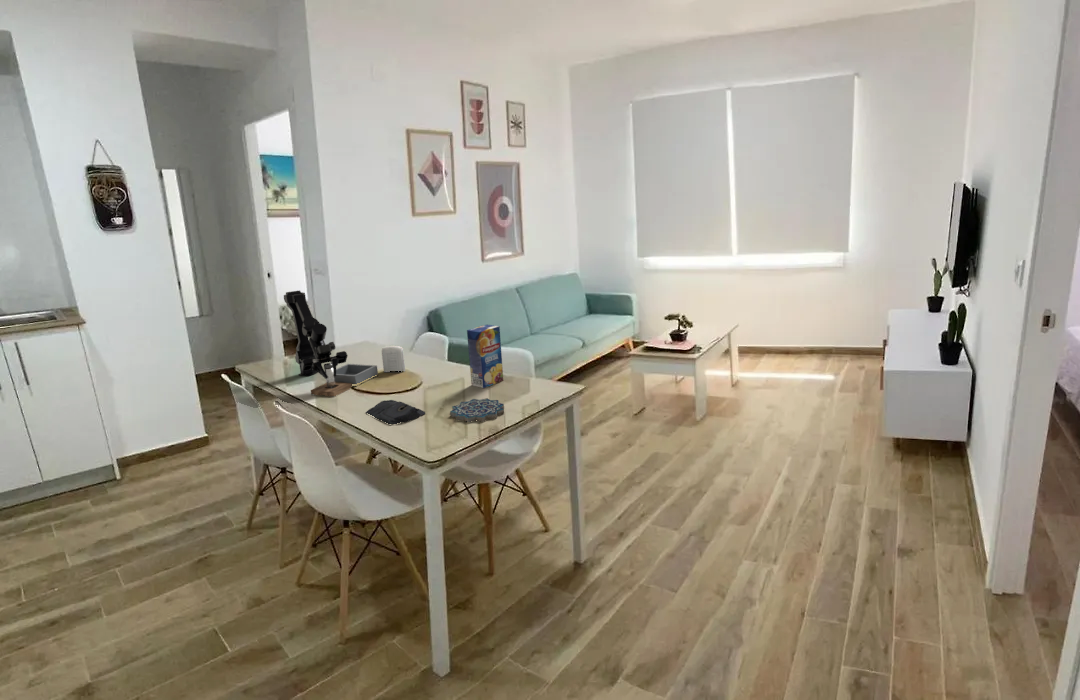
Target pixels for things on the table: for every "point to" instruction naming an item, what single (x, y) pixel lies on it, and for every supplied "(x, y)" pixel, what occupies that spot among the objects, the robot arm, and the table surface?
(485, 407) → the decorative tile
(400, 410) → the dark slate chunk
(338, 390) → the bracket
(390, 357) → the photo printer
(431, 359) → the table surface
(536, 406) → the table surface
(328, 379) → the clear glass cylinder
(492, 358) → the juice carton
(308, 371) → the robot arm
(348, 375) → the tray
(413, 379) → the table surface
